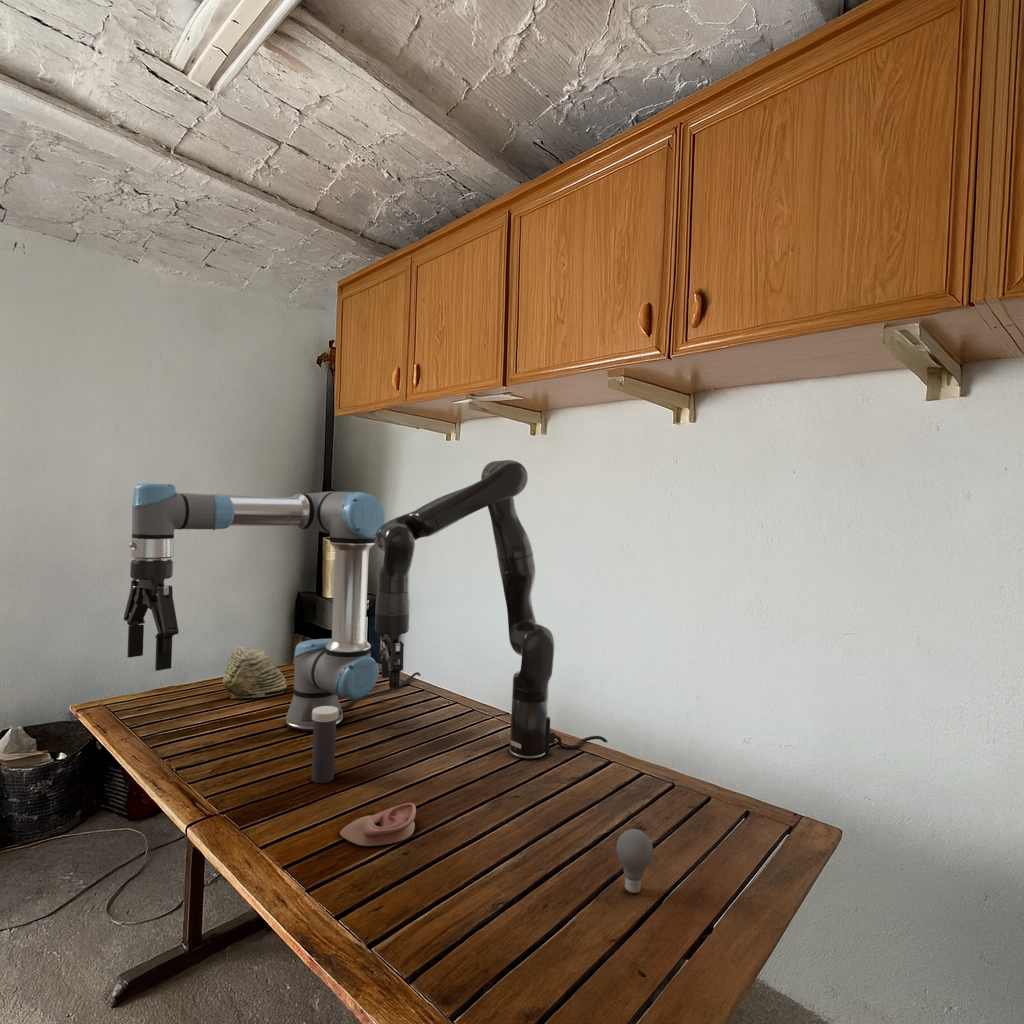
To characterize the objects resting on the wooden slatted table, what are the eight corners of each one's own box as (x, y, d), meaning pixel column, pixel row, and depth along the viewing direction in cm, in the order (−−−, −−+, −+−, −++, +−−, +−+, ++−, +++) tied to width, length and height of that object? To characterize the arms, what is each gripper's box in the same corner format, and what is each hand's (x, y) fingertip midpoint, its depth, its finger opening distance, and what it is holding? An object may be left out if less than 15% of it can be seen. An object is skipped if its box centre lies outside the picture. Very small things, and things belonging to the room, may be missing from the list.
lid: (319, 712, 146) (320, 704, 146) (342, 715, 144) (343, 707, 144) (306, 720, 140) (307, 712, 140) (330, 723, 139) (330, 715, 139)
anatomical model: (332, 820, 116) (360, 792, 128) (332, 841, 116) (359, 811, 128) (400, 830, 114) (422, 801, 125) (400, 852, 114) (421, 821, 125)
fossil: (218, 695, 195) (220, 647, 195) (278, 685, 208) (279, 640, 207) (228, 703, 189) (230, 653, 188) (289, 692, 201) (290, 645, 201)
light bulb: (610, 879, 108) (613, 822, 108) (644, 879, 109) (647, 822, 109) (619, 902, 102) (622, 840, 102) (655, 901, 103) (658, 840, 103)
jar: (318, 772, 145) (320, 707, 145) (337, 775, 144) (340, 709, 144) (307, 781, 141) (309, 714, 140) (327, 784, 140) (329, 716, 139)
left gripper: (108, 554, 134) (104, 654, 134) (159, 565, 118) (155, 678, 119) (146, 552, 140) (143, 648, 140) (199, 563, 124) (195, 671, 124)
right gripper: (416, 616, 137) (413, 690, 138) (402, 605, 151) (399, 672, 151) (381, 617, 135) (379, 693, 135) (370, 606, 148) (367, 675, 148)
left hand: (148, 662), depth 129 cm, fingers open, 13 cm apart
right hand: (390, 682), depth 143 cm, fingers open, 8 cm apart
